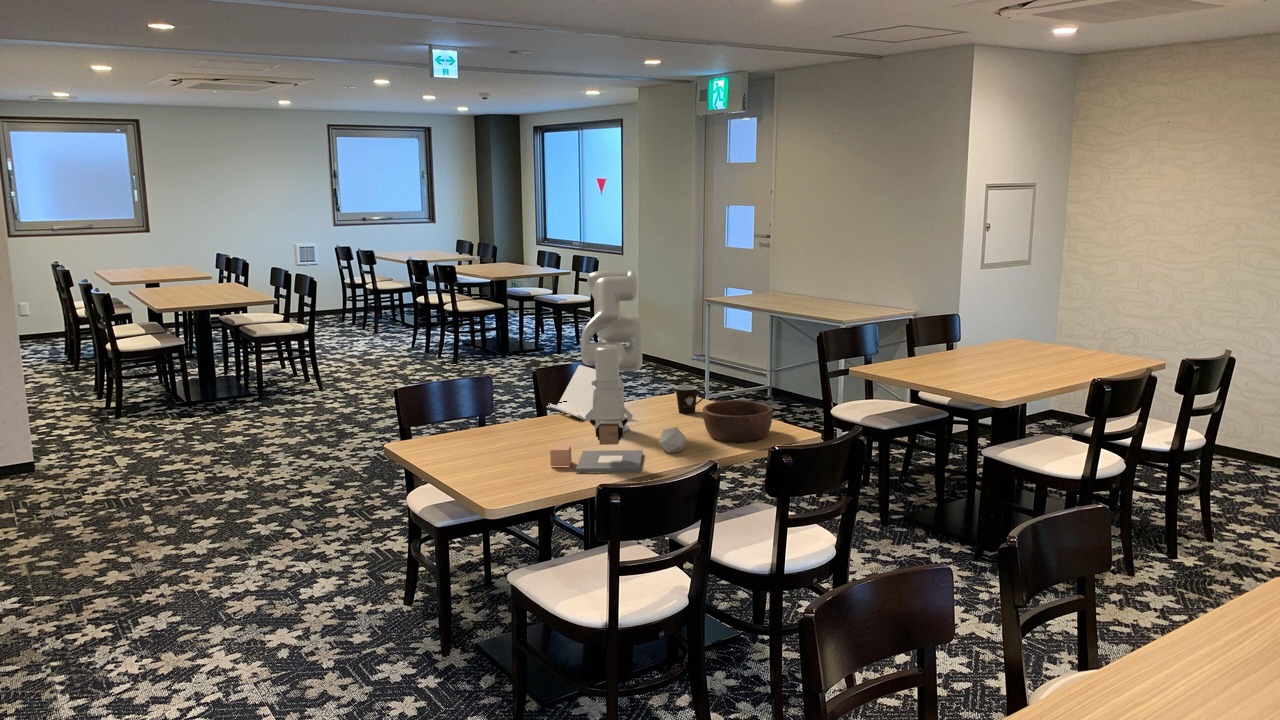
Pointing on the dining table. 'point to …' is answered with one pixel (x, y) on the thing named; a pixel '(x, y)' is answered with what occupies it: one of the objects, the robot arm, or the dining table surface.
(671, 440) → the die
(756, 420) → the wooden bowl
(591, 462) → the baseboard
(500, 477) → the dining table surface
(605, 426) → the walnut block
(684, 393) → the coffee mug
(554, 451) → the terracotta block
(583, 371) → the tablet stand
